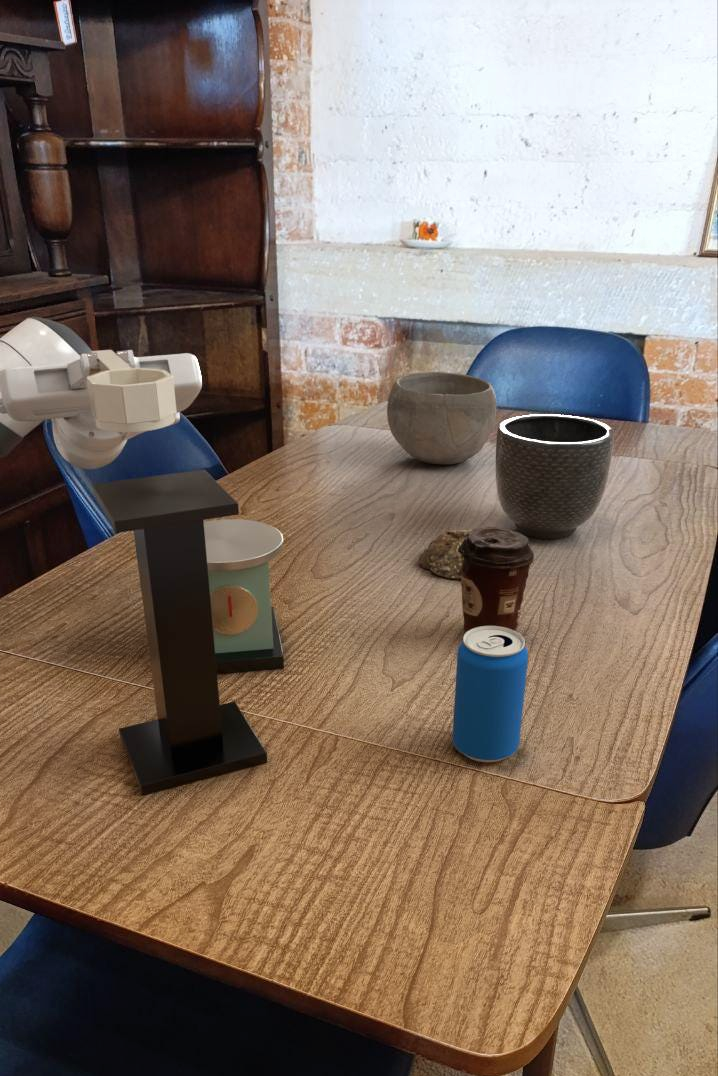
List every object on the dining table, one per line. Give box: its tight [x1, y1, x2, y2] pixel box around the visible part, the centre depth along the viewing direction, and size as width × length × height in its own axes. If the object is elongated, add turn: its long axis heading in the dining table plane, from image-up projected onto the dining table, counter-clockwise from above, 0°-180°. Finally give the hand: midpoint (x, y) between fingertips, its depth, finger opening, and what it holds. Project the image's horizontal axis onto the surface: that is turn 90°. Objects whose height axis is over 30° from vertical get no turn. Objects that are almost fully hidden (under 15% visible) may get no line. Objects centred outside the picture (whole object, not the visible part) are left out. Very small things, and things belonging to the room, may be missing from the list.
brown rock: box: [417, 529, 472, 581], centre depth 124 cm, size 13×12×5 cm
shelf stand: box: [91, 469, 268, 796], centre depth 79 cm, size 10×12×26 cm
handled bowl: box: [87, 349, 177, 433], centre depth 81 cm, size 17×7×4 cm, turn 25°
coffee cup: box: [458, 526, 535, 636], centre depth 103 cm, size 9×8×13 cm
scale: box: [204, 518, 285, 675], centre depth 101 cm, size 13×13×14 cm
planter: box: [495, 414, 616, 540], centre depth 134 cm, size 17×17×16 cm
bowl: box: [386, 371, 498, 465], centre depth 168 cm, size 21×21×15 cm
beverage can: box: [451, 626, 529, 763], centre depth 83 cm, size 6×6×12 cm
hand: (109, 359), depth 84 cm, fingers closed on handled bowl, 2 cm apart
